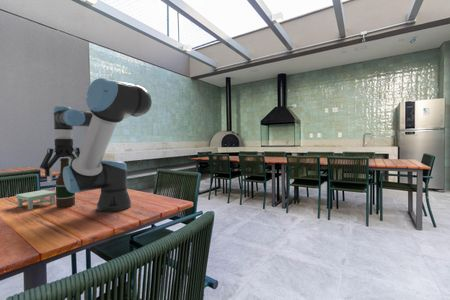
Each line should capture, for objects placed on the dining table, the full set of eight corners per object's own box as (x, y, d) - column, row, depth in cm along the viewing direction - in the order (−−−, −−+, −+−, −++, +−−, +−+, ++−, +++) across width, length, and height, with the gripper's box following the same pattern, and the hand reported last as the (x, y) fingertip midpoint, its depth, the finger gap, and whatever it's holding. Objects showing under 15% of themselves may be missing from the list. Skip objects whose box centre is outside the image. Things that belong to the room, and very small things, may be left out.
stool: (56, 203, 119) (56, 192, 119) (28, 210, 108) (28, 197, 108) (43, 200, 124) (43, 189, 124) (15, 206, 114) (15, 194, 113)
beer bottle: (65, 208, 111) (64, 159, 110) (52, 207, 113) (50, 158, 112) (78, 204, 119) (77, 157, 118) (66, 203, 120) (64, 157, 119)
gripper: (83, 138, 127) (84, 176, 128) (29, 138, 104) (31, 184, 106) (92, 138, 124) (93, 177, 125) (38, 138, 101) (40, 186, 102)
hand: (64, 180), depth 115 cm, fingers open, 13 cm apart
